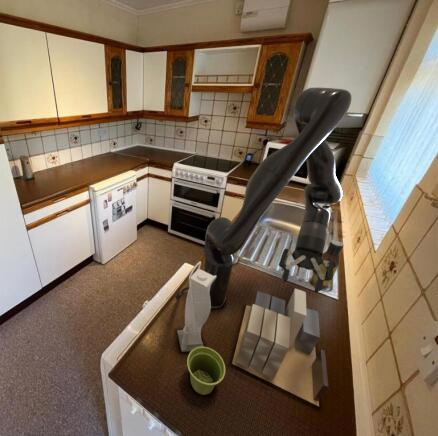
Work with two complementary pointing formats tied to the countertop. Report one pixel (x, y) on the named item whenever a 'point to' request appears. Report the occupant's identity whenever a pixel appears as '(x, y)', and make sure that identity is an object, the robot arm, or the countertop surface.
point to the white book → (296, 313)
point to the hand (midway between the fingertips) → (300, 286)
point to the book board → (282, 349)
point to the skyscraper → (196, 309)
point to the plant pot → (205, 369)
